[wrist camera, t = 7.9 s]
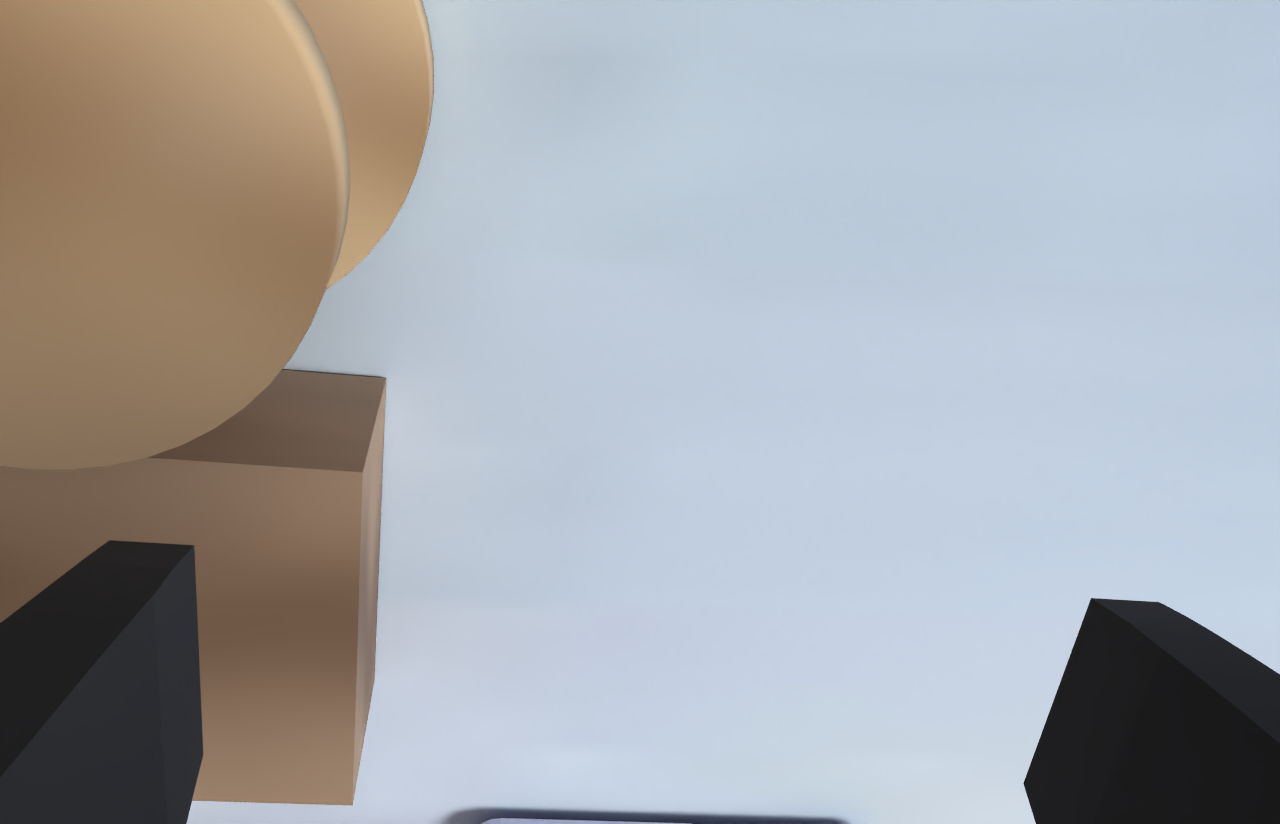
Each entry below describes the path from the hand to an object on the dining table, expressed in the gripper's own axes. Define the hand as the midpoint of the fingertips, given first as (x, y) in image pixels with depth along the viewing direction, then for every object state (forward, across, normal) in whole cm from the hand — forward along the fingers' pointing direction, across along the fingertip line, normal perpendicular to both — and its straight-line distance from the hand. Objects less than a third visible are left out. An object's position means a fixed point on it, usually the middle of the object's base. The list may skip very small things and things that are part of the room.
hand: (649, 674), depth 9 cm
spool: (+9, +6, -2) cm, 11 cm away
